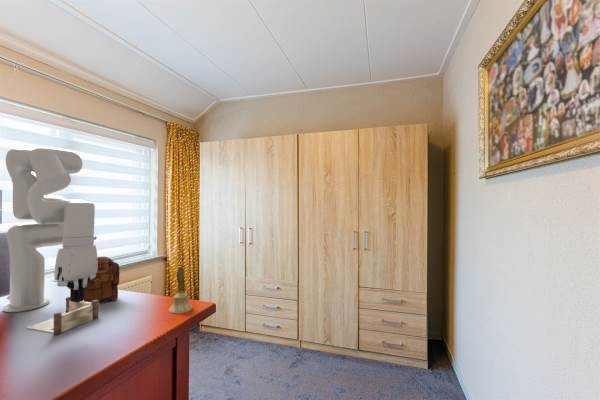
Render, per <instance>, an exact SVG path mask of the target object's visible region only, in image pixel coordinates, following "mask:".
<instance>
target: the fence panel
mask: <svg viewBox="0 0 600 400" xmlns="http://www.w3.org/2000/svg"><path fill="white" fill-rule="evenodd" d="M53 318H54V333H53V335H55V336H56V335H61V334H62V333H64V332H66V331H68V330H71V329H73V328H76V327H78V326H80V325H82V324H85V323H87V322H90V321H92V320H94V319H93V305H92V304H89V305H87V306H84V307H81V308H79V309H76V310H73V311H70V312H68V313H66V312H65V313H63V314H62V312H55V313H53Z"/></svg>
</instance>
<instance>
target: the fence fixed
mask: <svg viewBox="0 0 600 400" xmlns="http://www.w3.org/2000/svg"><path fill="white" fill-rule="evenodd" d="M89 304H92V305H93V319H92V320H96V319H99V315H100V314H99V309H100V308H99V306H100V304H99V300H93V301H91V302H85V301H84V300H83V301H80V302H78V303H77V302H72V301H71V299H70V296H67V297H66V298H65V313H68V312H70V311H73V310H76V309H79V308H81V307H84V306H87V305H89Z"/></svg>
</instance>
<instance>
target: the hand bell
mask: <svg viewBox="0 0 600 400" xmlns="http://www.w3.org/2000/svg"><path fill="white" fill-rule="evenodd" d="M184 280H185V272H184V269H183V267H182V266H179V267H178V268H177V272H176V281H177V283H178V284H177V285H178V288H177V291H178V292H177V294H175V295H173V296H174V298H173V303H172V305H171V307H169V308H168V313H169V314H173V315H179V314H181V315H182V314H186V313H189V312H190V311H192V310H193V305H191V304H190V302H189V298H188V294H187V293H186V292H185V293H184V282H185V281H184Z"/></svg>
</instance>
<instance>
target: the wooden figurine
mask: <svg viewBox="0 0 600 400" xmlns="http://www.w3.org/2000/svg"><path fill="white" fill-rule="evenodd" d="M97 258H98V269H97V273H96V277H95V278H93V279H91V280H89V282H88V283H87V286H86V287H85V288H84V300H83V301H85V302H91V301H93V300H99V305H101V304H106V303H110V302H111V301H113V302H114V301H117V300H118V298H119V289H118V288H119V287H118V286H119V284H120V265H119V264H118V262H115V261H114V260H112V259H111V258H110V257H107V256H97Z"/></svg>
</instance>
